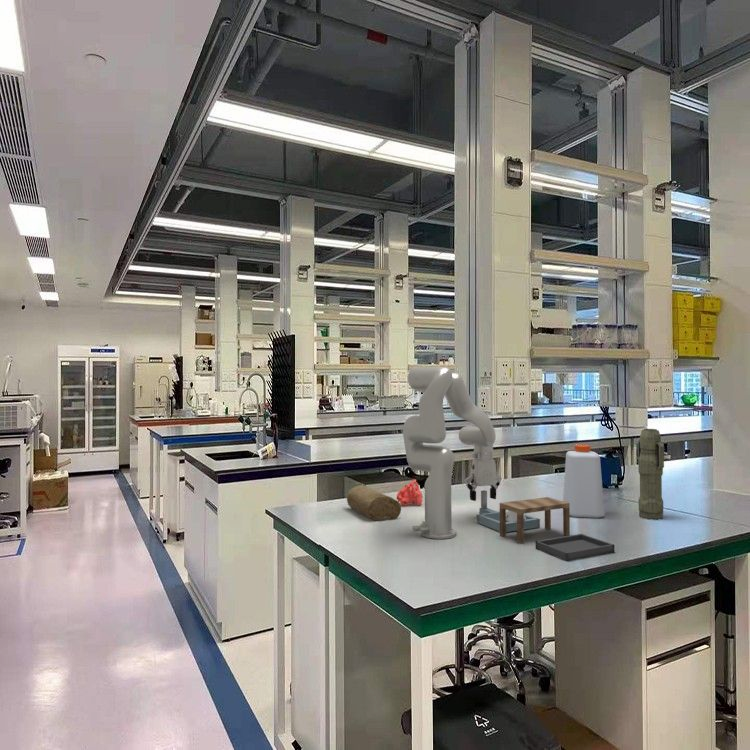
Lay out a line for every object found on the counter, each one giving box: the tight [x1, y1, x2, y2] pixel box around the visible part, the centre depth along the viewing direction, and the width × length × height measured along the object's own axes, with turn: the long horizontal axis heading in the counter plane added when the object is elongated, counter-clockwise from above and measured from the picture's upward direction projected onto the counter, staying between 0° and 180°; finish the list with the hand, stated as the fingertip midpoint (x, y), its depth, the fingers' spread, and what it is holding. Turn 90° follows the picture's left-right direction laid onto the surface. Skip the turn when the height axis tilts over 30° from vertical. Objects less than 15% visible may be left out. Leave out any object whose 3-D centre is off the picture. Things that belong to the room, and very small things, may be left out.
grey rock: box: [506, 510, 526, 522], centre depth 209 cm, size 8×9×10 cm
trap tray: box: [534, 533, 615, 562], centre depth 182 cm, size 20×14×2 cm
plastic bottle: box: [562, 444, 605, 519], centre depth 230 cm, size 15×15×28 cm
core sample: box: [346, 484, 402, 522], centre depth 232 cm, size 14×26×10 cm, turn 25°
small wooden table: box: [499, 496, 571, 545], centre depth 199 cm, size 22×11×12 cm, turn 115°
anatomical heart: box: [396, 479, 423, 507], centre depth 247 cm, size 9×12×12 cm
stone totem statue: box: [636, 428, 665, 521], centre depth 224 cm, size 9×12×35 cm
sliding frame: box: [476, 490, 541, 533], centre depth 216 cm, size 24×17×10 cm
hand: (483, 499), depth 225 cm, fingers open, 9 cm apart
